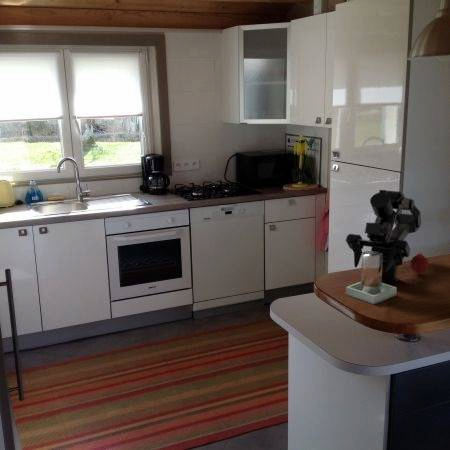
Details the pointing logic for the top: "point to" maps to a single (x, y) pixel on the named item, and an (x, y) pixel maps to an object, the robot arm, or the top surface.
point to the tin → (371, 272)
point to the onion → (419, 264)
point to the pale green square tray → (356, 292)
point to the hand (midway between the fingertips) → (369, 269)
